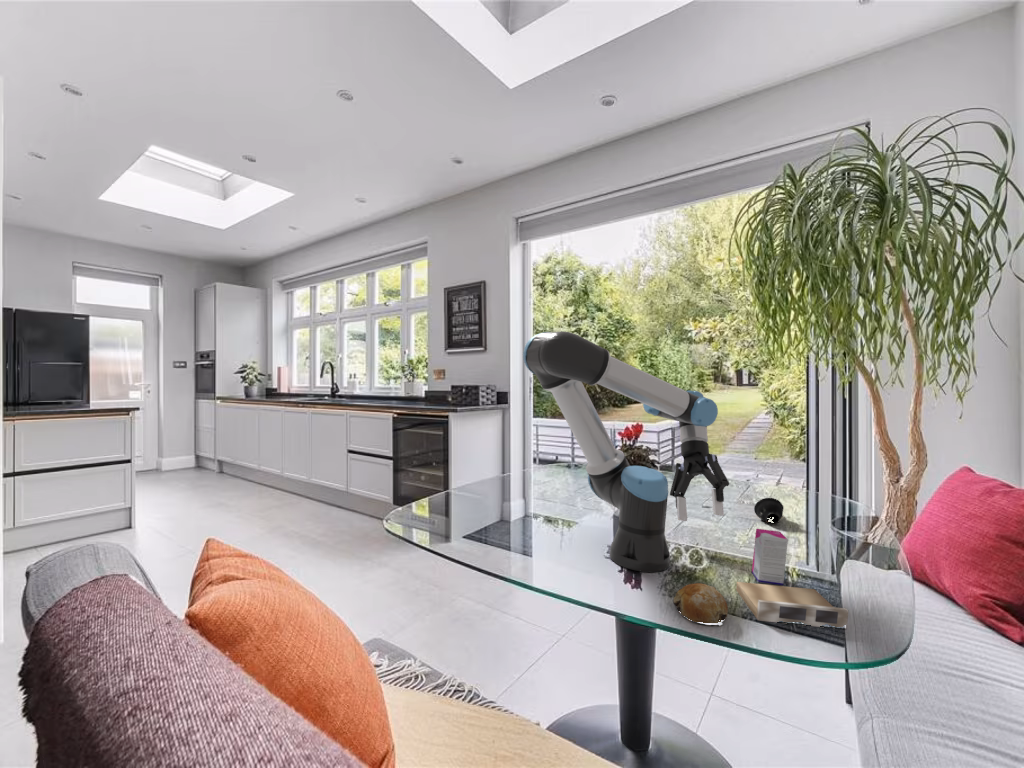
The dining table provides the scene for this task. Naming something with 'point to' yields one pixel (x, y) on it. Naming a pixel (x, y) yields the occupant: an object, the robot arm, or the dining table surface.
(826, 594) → the dining table surface
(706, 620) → the bread roll
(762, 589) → the tan slab
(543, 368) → the robot arm
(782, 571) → the supplement box
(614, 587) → the dining table surface
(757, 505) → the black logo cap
